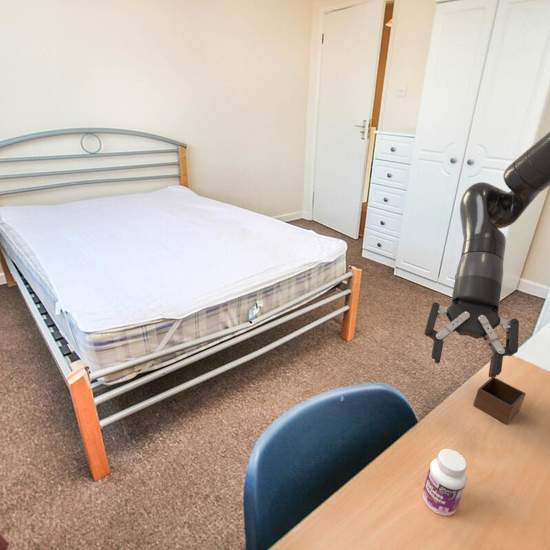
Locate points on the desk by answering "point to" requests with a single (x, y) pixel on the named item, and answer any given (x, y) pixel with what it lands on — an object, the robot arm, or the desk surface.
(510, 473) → the desk surface
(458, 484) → the pill bottle
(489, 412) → the dark brown open bin
